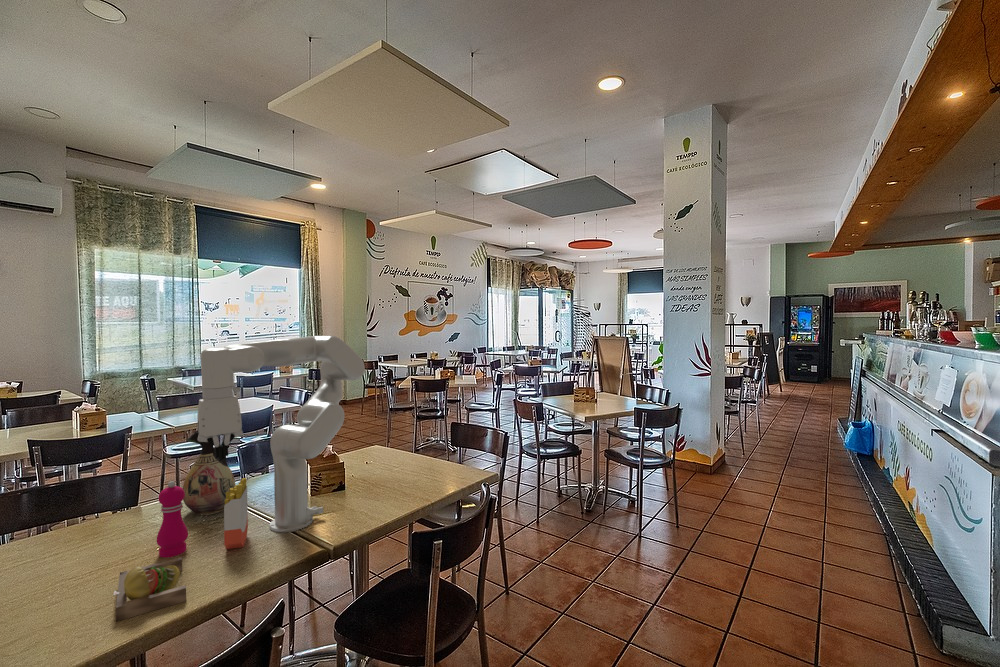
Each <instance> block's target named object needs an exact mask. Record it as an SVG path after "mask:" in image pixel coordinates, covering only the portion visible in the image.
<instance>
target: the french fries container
mask: <svg viewBox="0 0 1000 667" xmlns="http://www.w3.org/2000/svg"><path fill="white" fill-rule="evenodd" d="M229 491H230V492H226V499H225V505H224V510H223V532H224V533H223V540H224V542H223V543H224V544H223V545H224V547H225V549H226V550H232V549H239V548H244V547H245V543H246V541H247V537H248V529H249V528H248V527H249V523H248V522H249V521H248V519H249V517H248V515H249V514H248V512H249V511H248V508H249V507H248V486H247V477H243V478H241V479H240V481H239V483H238V484H236V486H235V487H234V489H233V488H230V489H229Z"/></svg>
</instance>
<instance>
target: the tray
mask: <svg viewBox="0 0 1000 667" xmlns="http://www.w3.org/2000/svg"><path fill="white" fill-rule="evenodd" d="M167 566H176V567H177V568H178V569H179V571H180V573H181V572H183V558H182V556H180V557H178V558H177V557H176V558H173V559H170V560H169V559H168V560H166V561H165V560H164V561H162V562H157V563H152V564H148V565H145V566H140V567H141V568H142V569H145V570H144V571H146V570H150V569H151V568H152V567H156V568H160V567H163V568H165V567H167ZM146 568H147V569H146ZM130 570H131V569H129V570H124V571H121V572H119V576H118V577H119V578H118V586H117V592H119V593H120V594H117V595H116V603H115V622H120V621H123V620H126V619H129V618H133V617H137V616H139V615H143V614H147V613H149V612H150V613H151V612H153V611H156V610H161V609H164V608H166V607H170V606H174V605H176V604H180V603H184V602H187V586H186V585H187V584H184V585H181V586H178V587H174V588H173V589H170V590H166V591H163V592H159V593H155V594H152V595H148V596H145V597H141V598H138V599H134V600H130V599H129V600H127V599H128V597H127V596H126V593H125V592H124V580H125V577H126V575H127V573H128V572H129V571H130ZM121 592H122V593H121Z"/></svg>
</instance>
